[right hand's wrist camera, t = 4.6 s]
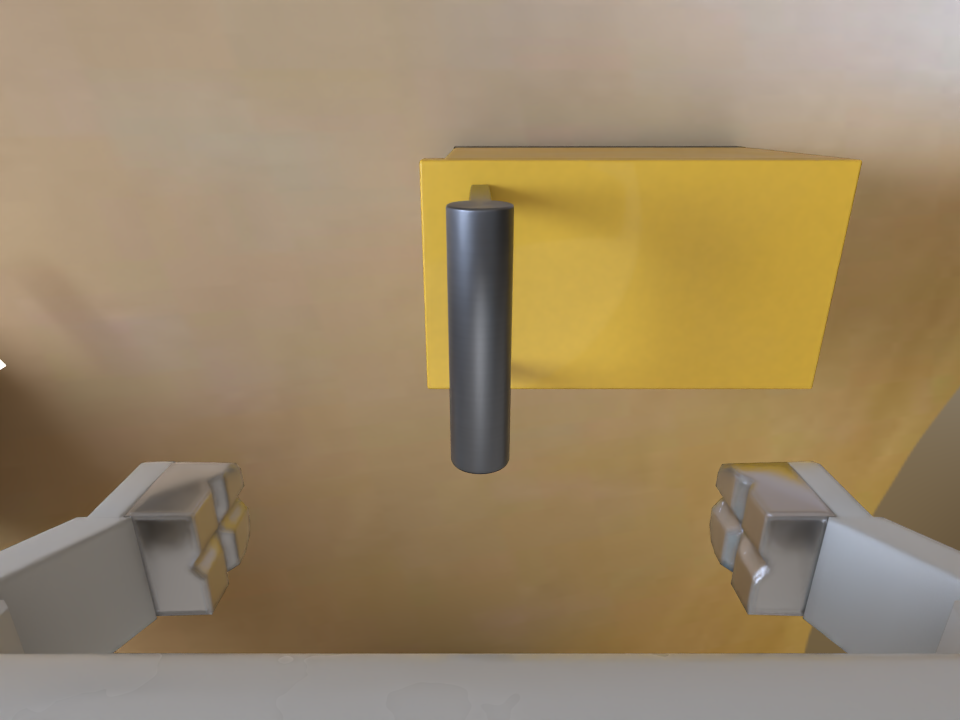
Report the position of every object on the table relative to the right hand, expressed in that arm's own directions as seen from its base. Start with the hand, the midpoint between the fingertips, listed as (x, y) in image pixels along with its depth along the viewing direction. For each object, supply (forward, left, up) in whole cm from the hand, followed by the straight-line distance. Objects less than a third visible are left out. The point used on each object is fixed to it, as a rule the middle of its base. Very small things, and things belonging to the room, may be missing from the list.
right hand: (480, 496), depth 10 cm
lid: (+4, +4, -16) cm, 17 cm away
